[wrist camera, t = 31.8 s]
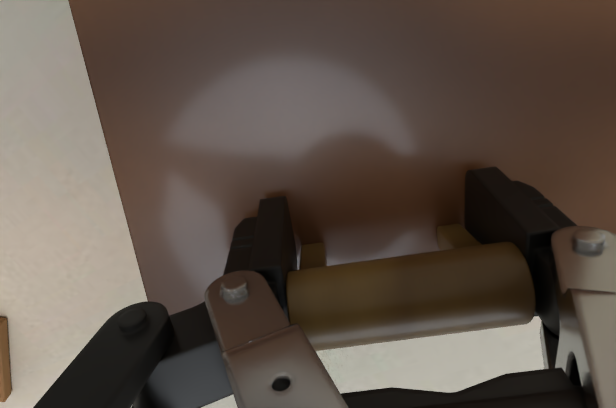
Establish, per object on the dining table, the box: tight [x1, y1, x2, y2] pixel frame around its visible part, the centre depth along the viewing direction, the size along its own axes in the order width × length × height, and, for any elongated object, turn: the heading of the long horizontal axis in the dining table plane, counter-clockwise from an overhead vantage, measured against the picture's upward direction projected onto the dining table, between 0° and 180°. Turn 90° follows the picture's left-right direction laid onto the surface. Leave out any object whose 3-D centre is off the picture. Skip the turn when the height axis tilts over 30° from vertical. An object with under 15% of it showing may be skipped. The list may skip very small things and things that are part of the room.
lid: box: [68, 0, 616, 351], centre depth 10 cm, size 14×15×5 cm
